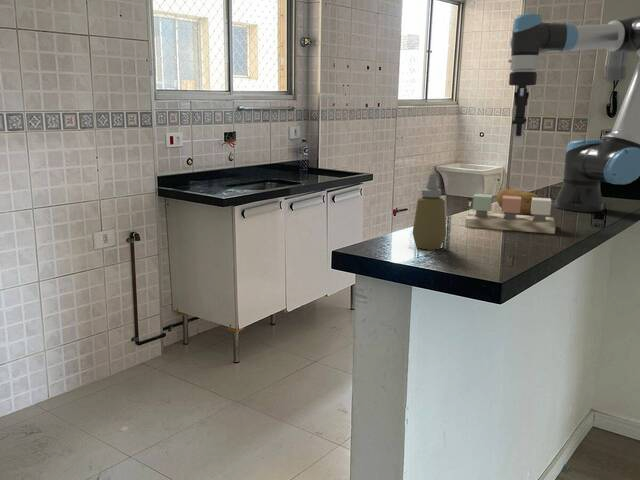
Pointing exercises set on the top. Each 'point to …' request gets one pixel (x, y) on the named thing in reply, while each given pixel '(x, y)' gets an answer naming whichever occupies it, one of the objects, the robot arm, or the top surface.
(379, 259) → the top surface
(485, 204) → the block sage
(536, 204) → the block cream
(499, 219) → the board
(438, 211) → the squeeze bottle
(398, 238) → the top surface
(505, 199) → the block terracotta
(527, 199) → the potato
